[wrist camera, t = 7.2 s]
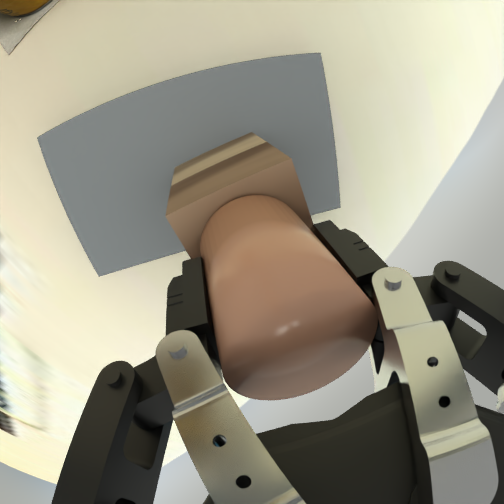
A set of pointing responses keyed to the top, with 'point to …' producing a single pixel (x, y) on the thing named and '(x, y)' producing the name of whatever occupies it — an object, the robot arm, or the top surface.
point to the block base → (216, 156)
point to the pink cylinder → (280, 302)
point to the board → (184, 149)
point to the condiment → (13, 8)
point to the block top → (233, 191)
